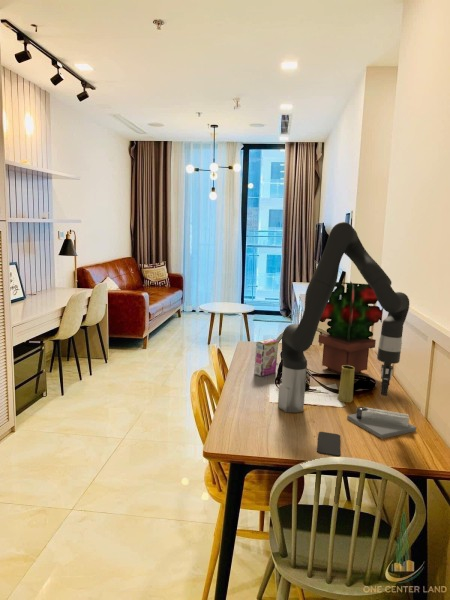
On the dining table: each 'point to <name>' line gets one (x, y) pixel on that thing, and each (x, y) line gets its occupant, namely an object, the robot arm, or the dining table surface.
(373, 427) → the charcoal board
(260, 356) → the candy bar box
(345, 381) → the vase
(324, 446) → the phone
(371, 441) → the dining table surface
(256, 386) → the dining table surface
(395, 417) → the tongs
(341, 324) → the potted plant
